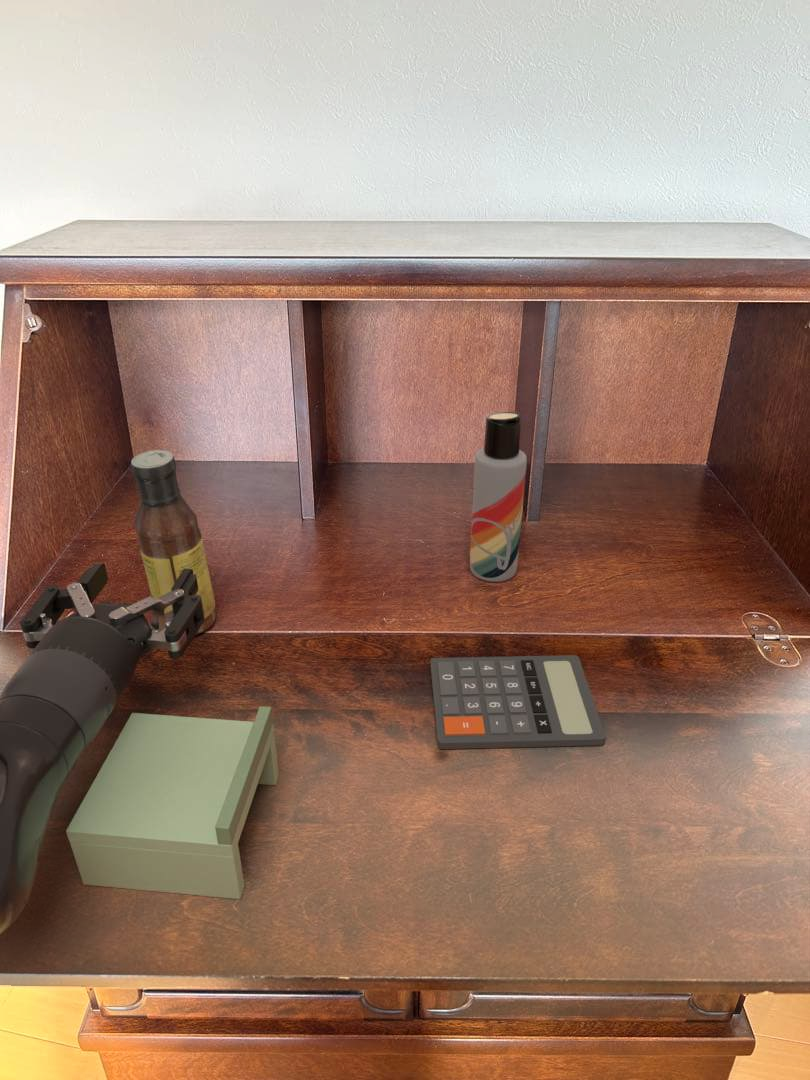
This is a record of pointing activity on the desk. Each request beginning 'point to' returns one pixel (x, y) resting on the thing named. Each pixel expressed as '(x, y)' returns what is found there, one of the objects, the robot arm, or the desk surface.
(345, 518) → the desk surface
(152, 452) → the sauce bottle
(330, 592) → the desk surface
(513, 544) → the lotion bottle
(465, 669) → the calculator
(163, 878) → the shelf
